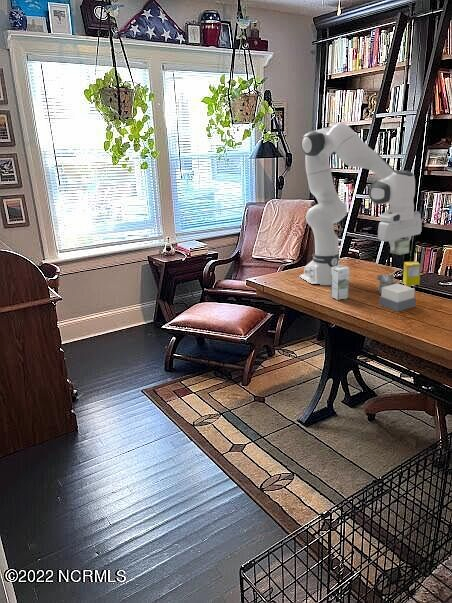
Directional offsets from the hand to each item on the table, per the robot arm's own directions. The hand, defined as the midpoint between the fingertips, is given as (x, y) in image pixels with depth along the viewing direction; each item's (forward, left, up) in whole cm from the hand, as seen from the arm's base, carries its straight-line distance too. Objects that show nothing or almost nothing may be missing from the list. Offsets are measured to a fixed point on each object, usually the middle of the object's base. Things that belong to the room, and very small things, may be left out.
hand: (399, 248), depth 180 cm
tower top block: (0, +1, -21) cm, 21 cm away
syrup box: (-21, -12, -25) cm, 34 cm away
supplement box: (-14, +24, -25) cm, 37 cm away
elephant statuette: (-16, +10, -25) cm, 31 cm away
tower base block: (0, 0, -25) cm, 25 cm away
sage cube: (0, 0, -2) cm, 2 cm away
